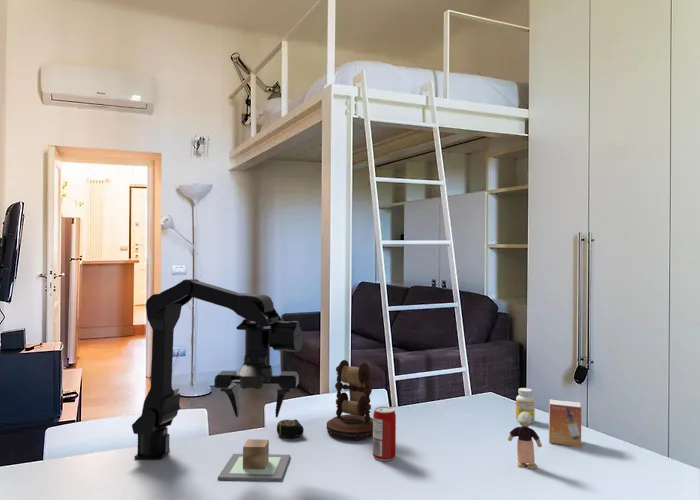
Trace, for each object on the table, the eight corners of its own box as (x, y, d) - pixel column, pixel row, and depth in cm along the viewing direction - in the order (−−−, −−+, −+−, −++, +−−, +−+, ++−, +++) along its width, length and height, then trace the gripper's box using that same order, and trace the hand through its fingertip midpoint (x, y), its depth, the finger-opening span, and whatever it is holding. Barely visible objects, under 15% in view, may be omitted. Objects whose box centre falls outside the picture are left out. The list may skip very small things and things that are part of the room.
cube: (242, 468, 119) (243, 446, 120) (247, 460, 124) (247, 439, 125) (264, 469, 119) (264, 447, 119) (268, 460, 124) (268, 439, 124)
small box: (548, 443, 140) (548, 403, 140) (549, 437, 145) (549, 398, 145) (581, 447, 137) (581, 407, 137) (580, 441, 142) (580, 401, 142)
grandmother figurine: (541, 464, 125) (541, 411, 125) (541, 471, 121) (542, 415, 122) (507, 460, 127) (508, 408, 128) (507, 466, 124) (507, 412, 124)
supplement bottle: (530, 425, 155) (530, 392, 156) (513, 421, 159) (513, 389, 159) (537, 421, 160) (537, 389, 160) (519, 417, 163) (519, 386, 163)
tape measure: (304, 438, 142) (304, 424, 143) (279, 441, 140) (279, 427, 140) (298, 431, 149) (298, 417, 149) (274, 433, 147) (274, 419, 147)
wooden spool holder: (388, 430, 150) (389, 359, 150) (361, 445, 137) (362, 368, 138) (345, 421, 157) (345, 354, 158) (315, 435, 145) (316, 362, 145)
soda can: (398, 455, 130) (398, 406, 131) (390, 462, 125) (391, 412, 126) (377, 451, 133) (378, 403, 133) (369, 459, 128) (369, 409, 128)
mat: (217, 479, 115) (217, 476, 115) (233, 456, 129) (233, 453, 129) (281, 480, 115) (281, 477, 115) (290, 457, 129) (290, 454, 129)
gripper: (207, 355, 115) (206, 427, 114) (293, 355, 114) (292, 428, 114) (221, 346, 126) (220, 412, 125) (299, 347, 125) (298, 413, 125)
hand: (257, 416), depth 122 cm, fingers open, 9 cm apart
